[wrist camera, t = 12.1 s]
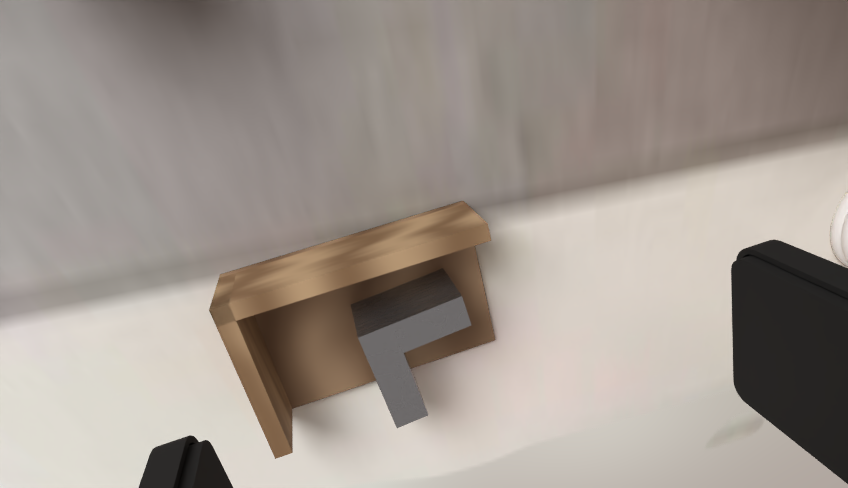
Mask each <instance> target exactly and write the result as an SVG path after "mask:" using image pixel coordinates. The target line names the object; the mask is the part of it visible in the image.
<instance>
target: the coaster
mask: <svg viewBox="0 0 848 488" xmlns="http://www.w3.org/2000/svg"><path fill="white" fill-rule="evenodd" d="M830 241H831V246H832V249H833V252H834V254H835V256H836V257H837V258H838V259H839V260H840V261H841V262H842V263H843V264H844V265H846V266H848V191H847V192H846V193H845V195H844V196H843V198H842V199H841V201H840V203H839V204H838V206H837V208H836V211H835V213H834V216H833V219H832V223H831V230H830Z"/></svg>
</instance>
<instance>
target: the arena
mask: <svg viewBox="0 0 848 488" xmlns="http://www.w3.org/2000/svg"><path fill="white" fill-rule="evenodd" d="M488 241H491V237H490V232H489V228H488V224H487V223H486V222H485V221H484V220H483V219H482V218H481V217H480V216H479V215H478V214H477V213H476V212H475V211H473V210H472V209H471V208H470V207H469V206H468V205H467V204H466V203H465V202H464V201H460V202H457V203H454V204H451V205H447V206H444V207H441V208H437V209H434V210H431V211H428V212H424V213H421V214H418V215H414V216H411V217H408V218H405V219H401V220H398V221H395V222H391V223H388V224H385V225H382V226H378V227H375V228H372V229H368V230H365V231H362V232H358V233H355V234H352V235H349V236H345V237H342V238H339V239H335V240H332V241H329V242H326V243H322V244H319V245H316V246H312V247H309V248H306V249H303V250H299V251H296V252H293V253H289V254H286V255H283V256H280V257H276V258H273V259H270V260H266V261H263V262H260V263H257V264H253V265H250V266H247V267H243V268H240V269H237V270H233V271H230V272H227V273H224V274H220V277H219V280H218V283H217V287H216V290H215V293H214V296H213V300H212V303H211V306H210V309H209V311H210V313H211V315H212V318H213V320H214V322H215V324H216V327H217V329H218V331H219V333H220V336H221V338H222V340H223V342H224V345H225V347H226V349H227V351H228V354H229V356H230V358H231V360H232V362H233V365H234V367H235V369H236V371H237V374H238V376H239V378H240V380H241V383H242V385H243V387H244V389H245V392H246V394H247V396H248V398H249V401H250V403H251V405H252V407H253V410H254V412H255V414H256V416H257V419H258V421H259V423H260V425H261V428H262V430H263V432H264V434H265V437H266V439H267V441H268V443H269V445H270V448H271V450H272V452H273V454H274V457H275V459H276V458H279V457H282V456H284V455H287V454H290V453H292V409H293V408H296V407H299V406H302V405H305V404H308V403H311V402H314V401H316V400H319V399H322V398H325V397H328V396H331V395H334V394H337V393H340V392H343V391H346V390H349V389H352V388H355V387H358V386H361V385H364V384H367V383H370V382H373V381H376V378H375V376H374V374H373V372H372V369H371V367H370V365H369V362H368V360H367V358H366V355H365V353H364V351H363V348H362V346H361V344H360V342H359V339H358V336H357V332H356V327H355V323H354V318H353V314H352V309H351V304H353V303H356V302H359V301H361V300H364V299H366V298H369V297H371V296H374V295H376V294H379V293H381V292H384V291H386V290H389V289H391V288H394V287H396V286H399V285H402V284H404V283H407V282H409V281H412V280H414V279H417V278H419V277H422V276H424V275H427V274H429V273H432V272H434V271H437V270H439V269H442V268H443V269H444V270H445V272H446V273H447V274H448V276H449V277H450V279H451V280H452V282H453V283H454V285H455V286H456V288H457V289H458V291H459V292H460V294H461V295H462V298H463V301H464V304H465V307H466V310H467V313H468V316H469V319H470V322H471V326H469V327H466V328H464V329H461V330H459V331H456V332H454V333H452V334H449V335H447V336H444V337H442V338H439V339H437V340H434V341H432V342H429V343H427V344H425V345H422V346H420V347H417V348H415V349H412V350H410V351H407V352H405V355H406V357H407V360H408V362H409V365H410V367H411V368H414V367H417V366H420V365H423V364H426V363H429V362H432V361H435V360H438V359H441V358H444V357H446V356H449V355H452V354H455V353H458V352H461V351H464V350H467V349H470V348H473V347H476V346H479V345H482V344H485V343H488V342H491V341H494V340H495V336H494V332H493V327H492V323H491V318H490V314H489V309H488V304H487V300H486V295H485V291H484V286H483V282H482V277H481V272H480V268H479V263H478V259H477V254H476V250H475V245H478V244H481V243H485V242H488Z"/></svg>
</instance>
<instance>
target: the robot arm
mask: <svg viewBox="0 0 848 488" xmlns="http://www.w3.org/2000/svg"><path fill="white" fill-rule="evenodd" d="M731 280H732V329H733V377H734V386H735V389H736V391H737V393H738V394H739V396H740V397H741V398H742V400H743V401H744V402H746V403H747V404H748V405H749V406H750V407H752V408H753V409H754V410H755V411H757V412H758V413H759V414H760V415H762V416H763V417H764V418H766V419H767V420H768V421H769V422H771V423H772V424H773V425H774V426H776V427H777V428H778V429H779V430H781V431H782V432H783V433H784V434H786V435H787V436H788V437H789V438H791V439H792V440H793V441H795V442H796V443H797V444H798V445H799V446H801V447H802V448H803V449H805V450H806V451H807V452H808V453H810V454H811V455H812V456H813V457H815V458H816V459H817V460H818V461H820V462H821V463H822V464H823V465H825V466H826V467H827V468H828V469H830V470H831V471H832V472H833V473H835V474H836V475H837V476H838V477H840V478H841V479H842V480H843V481H845V482H846V483H847V484H848V268H845V267H843V266H840V265H838V264H836V263H833V262H831V261H828V260H826V259H823V258H821V257H818V256H816V255H813V254H811V253H809V252H806V251H804V250H801V249H799V248H796V247H794V246H791V245H789V244H787V243H784V242H782V241H778V240H769V241H766V242H763V243H760V244H757V245H754V246H751V247H748V248H746V249H743V250H742V251H740V252H739V254H738V256H737V260H736V261H735V262H733V264H732V268H731ZM139 488H233V486H232V484H231V482H230V480H229V478H228V476H227V474H226V472H225V470H224V468H223V466H222V464H221V462H220V460H219V458H218V456H217V454H216V452H215V450H214V448H213V446H212V445H211V443H210V442H209V441H207V440H205V441H202V442H198V440H197V439H196V438H195V437H194V436H187V437H184V438H181V439H178V440H175V441H172V442H169V443H166V444H164V445H161V446H158V447H155V448H154V449H153V450H152V452H151V453H150V456H149V459H148V462H147V465H146V468H145V471H144V474H143V477H142V479H141V482H140V485H139Z"/></svg>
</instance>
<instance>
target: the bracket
mask: <svg viewBox="0 0 848 488" xmlns="http://www.w3.org/2000/svg"><path fill="white" fill-rule="evenodd" d="M351 309H352V314H353V318H354V323H355V327H356V332H357V336H358V339H359V342H360V344H361V346H362V348H363V351H364V353H365V355H366V358H367V360H368V362H369V365H370V367H371V369H372V372H373V374H374V376H375V378H376V381H377V383H378V385H379V388H380V390H381V392H382V395H383V397H384V399H385V402H386V404H387V406H388V409H389V411H390V413H391V415H392V418H393V420H394V422H395V425H396V427H397V428H399V427H401V426H404V425H406V424H408V423H411V422H413V421H415V420H418V419H420V418H423V417H425V416H427V415H428V413H427V410H426V408H425V405H424V402H423V399H422V397H421V394H420V391H419V388H418V386H417V383H416V380H415V377H414V375H413V372H412V370H411V367H410V365H409V362H408V360H407V357H406V355H405V352H407V351H410V350H412V349H415V348H417V347H420V346H422V345H425V344H427V343H429V342H432V341H434V340H437V339H439V338H442V337H444V336H447V335H449V334H452V333H454V332H456V331H459V330H461V329H464V328H466V327H469V326H471V322H470V319H469V316H468V313H467V310H466V307H465V304H464V301H463V298H462V295H461V294H460V292H459V291H458V289H457V288H456V286H455V285H454V283H453V282H452V280H451V279H450V277H449V276H448V274H447V273H446V272H445V270H444V269H443V268H442V269H439V270H437V271H434V272H432V273H429V274H427V275H424V276H422V277H419V278H417V279H414V280H412V281H409V282H407V283H404V284H402V285H399V286H396V287H394V288H391V289H389V290H386V291H384V292H381V293H379V294H376V295H374V296H371V297H369V298H366V299H364V300H361V301H359V302H356V303H353V304H351Z"/></svg>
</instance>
